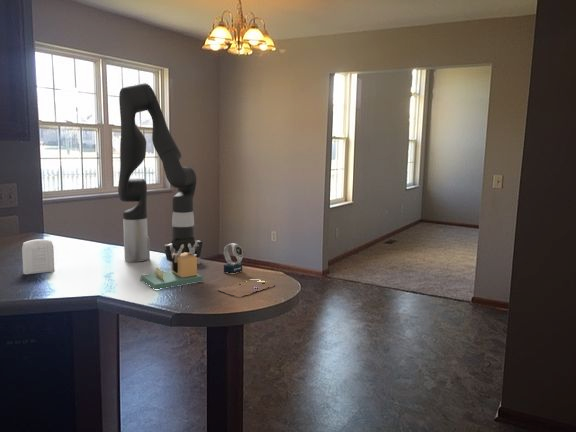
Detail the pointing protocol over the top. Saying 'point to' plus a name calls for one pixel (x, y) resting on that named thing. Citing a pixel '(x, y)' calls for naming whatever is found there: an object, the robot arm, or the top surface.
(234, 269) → the watch
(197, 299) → the top surface
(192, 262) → the block
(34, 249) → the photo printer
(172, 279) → the header board
